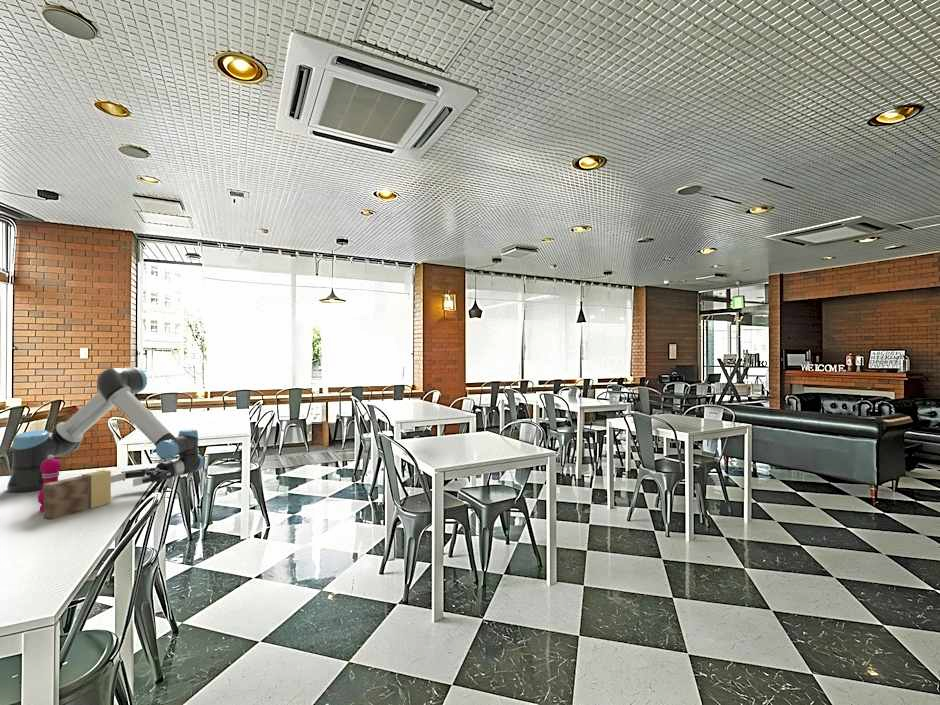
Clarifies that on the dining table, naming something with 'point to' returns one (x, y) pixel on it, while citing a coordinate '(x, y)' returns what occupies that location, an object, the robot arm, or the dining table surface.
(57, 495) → the block
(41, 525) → the dining table surface
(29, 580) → the dining table surface
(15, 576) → the dining table surface
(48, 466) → the pepper mill
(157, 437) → the robot arm
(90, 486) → the stub
